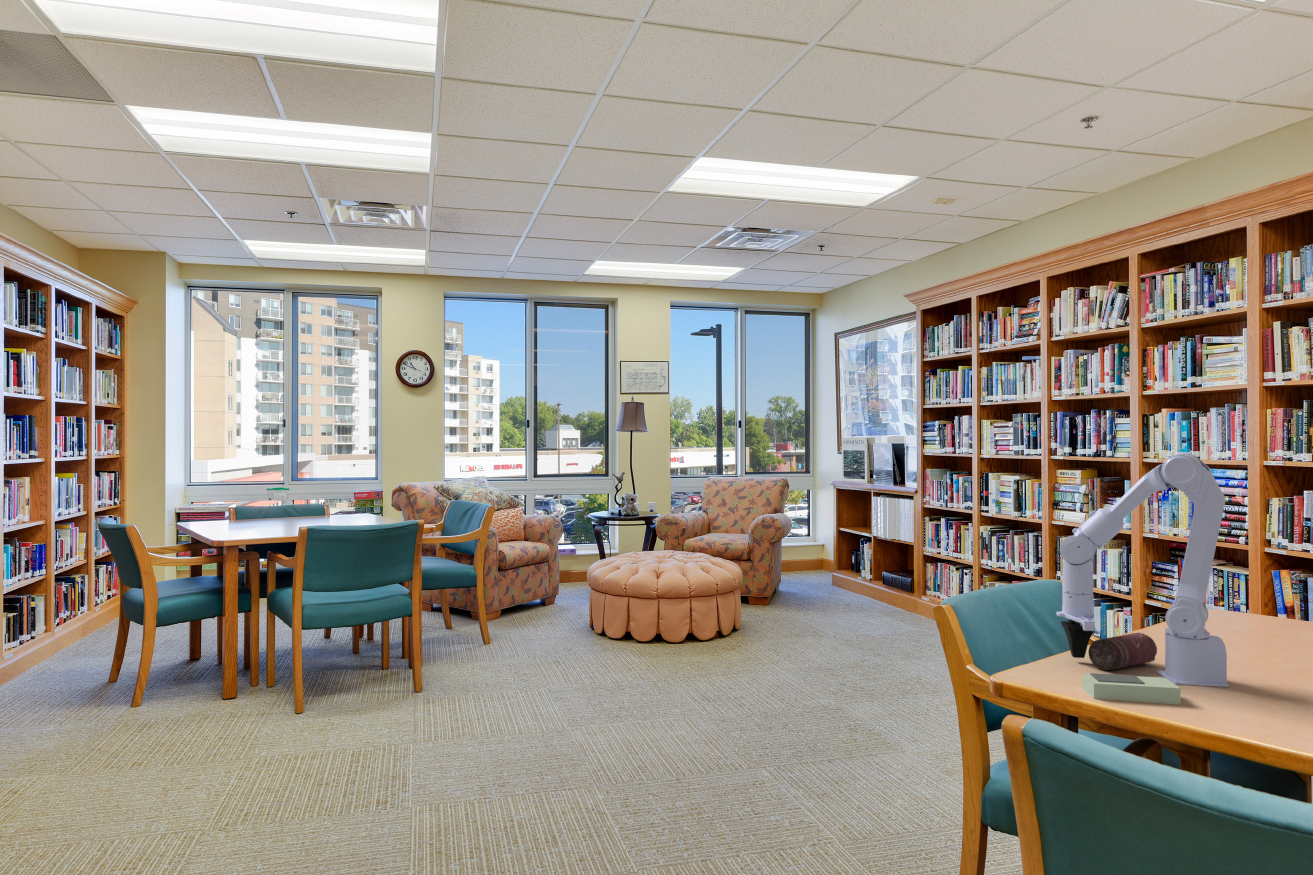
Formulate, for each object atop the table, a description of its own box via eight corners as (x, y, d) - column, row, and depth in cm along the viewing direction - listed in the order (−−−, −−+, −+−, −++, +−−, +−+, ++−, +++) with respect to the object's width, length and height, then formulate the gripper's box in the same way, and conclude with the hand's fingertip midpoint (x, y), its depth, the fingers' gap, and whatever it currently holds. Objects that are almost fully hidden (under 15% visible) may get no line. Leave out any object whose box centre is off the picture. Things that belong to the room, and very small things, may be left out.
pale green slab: (1165, 693, 143) (1164, 676, 143) (1180, 705, 137) (1180, 686, 137) (1082, 688, 146) (1082, 671, 146) (1093, 700, 140) (1093, 682, 140)
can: (1122, 665, 154) (1165, 655, 160) (1103, 634, 157) (1147, 627, 163) (1099, 676, 158) (1142, 667, 164) (1081, 647, 161) (1124, 639, 167)
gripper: (1047, 585, 172) (1047, 646, 172) (1068, 598, 157) (1068, 665, 157) (1081, 586, 170) (1082, 648, 170) (1106, 599, 156) (1106, 667, 156)
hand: (1077, 656), depth 164 cm, fingers closed
